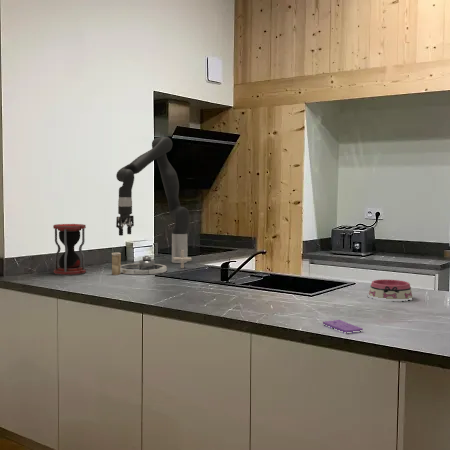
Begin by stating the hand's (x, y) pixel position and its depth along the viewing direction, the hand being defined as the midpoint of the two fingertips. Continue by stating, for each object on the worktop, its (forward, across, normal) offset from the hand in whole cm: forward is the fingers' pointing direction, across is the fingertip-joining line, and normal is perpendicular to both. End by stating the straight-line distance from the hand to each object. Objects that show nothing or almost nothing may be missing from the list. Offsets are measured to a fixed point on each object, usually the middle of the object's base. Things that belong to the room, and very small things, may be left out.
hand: (125, 234), depth 316 cm
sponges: (+19, +85, +136) cm, 161 cm away
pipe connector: (+18, -13, +29) cm, 37 cm away
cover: (+18, +2, +15) cm, 24 cm away
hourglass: (+19, +28, -16) cm, 37 cm away
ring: (+18, +7, +13) cm, 23 cm away
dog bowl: (+19, +23, +145) cm, 148 cm away
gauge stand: (+18, +22, +8) cm, 30 cm away
